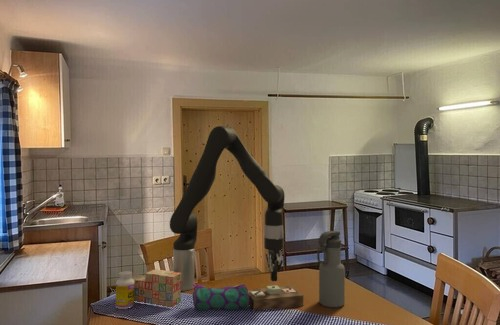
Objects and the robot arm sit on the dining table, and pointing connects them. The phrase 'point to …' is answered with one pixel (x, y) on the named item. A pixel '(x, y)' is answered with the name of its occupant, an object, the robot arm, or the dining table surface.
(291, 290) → the button two dots
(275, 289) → the button one dot
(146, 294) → the stack of blocks
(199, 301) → the pencil case
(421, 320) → the dining table surface
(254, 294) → the button three dots
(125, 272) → the supplement bottle
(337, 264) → the water bottle
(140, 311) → the dining table surface
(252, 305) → the button panel
